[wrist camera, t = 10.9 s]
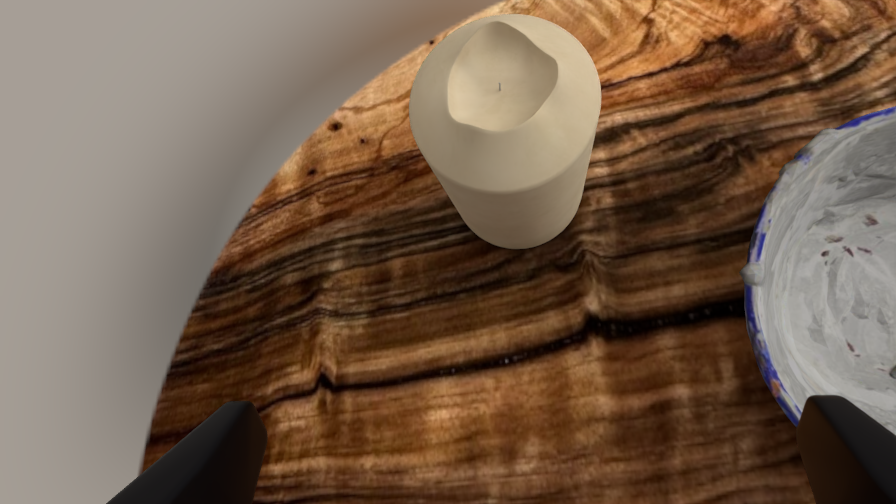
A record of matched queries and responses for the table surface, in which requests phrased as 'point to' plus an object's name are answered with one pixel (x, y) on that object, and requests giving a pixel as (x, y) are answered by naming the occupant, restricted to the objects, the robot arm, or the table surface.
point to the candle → (508, 125)
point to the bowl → (829, 272)
